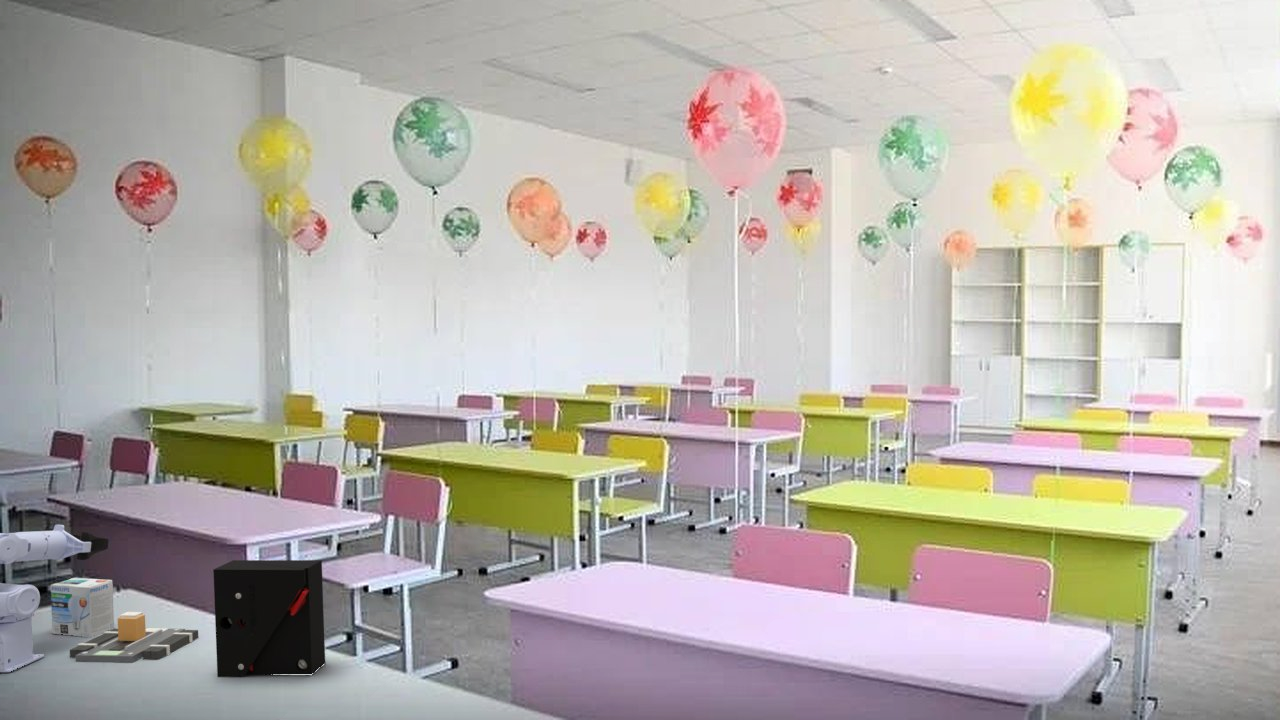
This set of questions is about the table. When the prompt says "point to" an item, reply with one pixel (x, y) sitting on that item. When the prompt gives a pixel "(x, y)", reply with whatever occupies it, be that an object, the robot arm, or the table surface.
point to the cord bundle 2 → (170, 644)
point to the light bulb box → (82, 607)
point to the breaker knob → (131, 626)
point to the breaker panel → (125, 647)
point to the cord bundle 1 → (94, 642)
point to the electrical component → (269, 617)
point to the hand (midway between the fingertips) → (92, 542)
